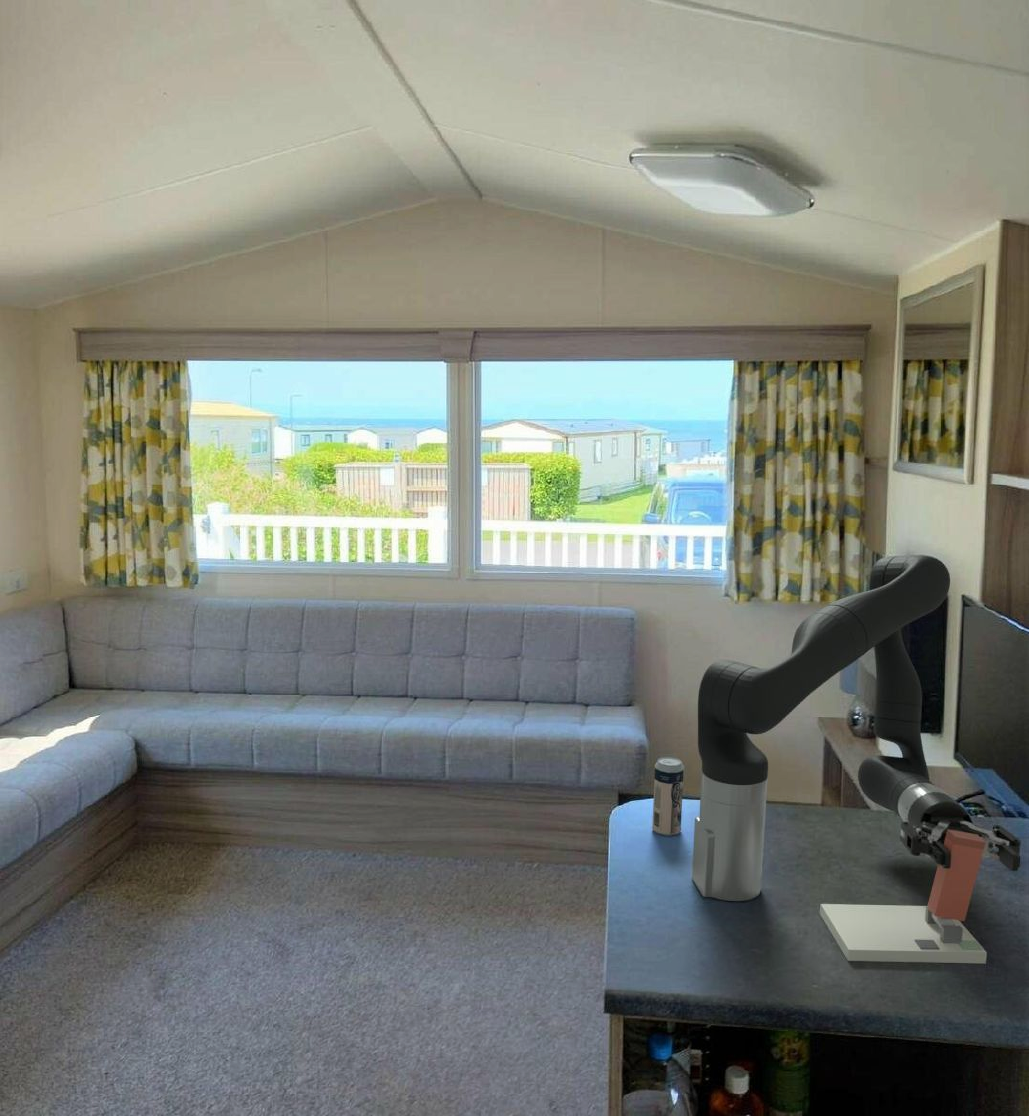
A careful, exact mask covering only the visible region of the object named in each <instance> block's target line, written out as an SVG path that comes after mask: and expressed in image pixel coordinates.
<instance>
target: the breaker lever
mask: <svg viewBox="0 0 1029 1116" xmlns="http://www.w3.org/2000/svg"><path fill="white" fill-rule="evenodd" d="M985 843H986V842H985V841H984V840H983V839H982V838H980V837H979V836H978V835H977V834H971V833H966V832H960V831H955V830H949V829H948V830H947V833H946V837H945V841H944V846H945V847H946V848H947V849H948V850H949V851H950V853H951V866H950V869H947V868H943V867H942V866H941V865H939V864H937V868H936V871H935V872H936V873H935V875H934V880H933V883H932V887H931V892H930V894H929V899H928V902H927V905H926V906H927V907H928V909H929V910H930V911H931V912H932V918H933V919H934V921H935V922H936V923H937V924H938V926H939V927H940V928H941V926H942V925H945V926H956V925H955V923H954V922H953V921H952V920H951V919H954V920H959V921H960V922H965V920H966V918H967V917H966V916H967V913H968V910H969V905H970V902H971V898H972V895H973V891H974V887H975V884H976V880H977V876H978V874H979V873H978V872H979V869H980V865H981V861H982V858H983V857H982V854H983V851H984V847H985Z"/></svg>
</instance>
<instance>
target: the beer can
mask: <svg viewBox="0 0 1029 1116" xmlns="http://www.w3.org/2000/svg"><path fill="white" fill-rule="evenodd" d="M684 770H685V766H684V764H683V761H682V760H680V759H679V758H677V757H669V756H668V757H666V756H665V757H664V756H663V757H660V758H658V760H657V762H656V763H655V765H654V785H653V805H652V806H653V808H652V809H653V810H652V827H651V829H652V830H653V831H654V832H655V833H657V834H659V835H661V836H665V837H666V836H667V837H671V836H675V834H676V835H677V834H679V833H681V832H682V816H683V815H682V813H683V812H682V811H683V793H684V791H683V790H684Z"/></svg>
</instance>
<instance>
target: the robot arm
mask: <svg viewBox="0 0 1029 1116" xmlns="http://www.w3.org/2000/svg"><path fill="white" fill-rule="evenodd" d="M868 583H869V585H868V590H867V591H862V592H858V593H856V594H851V595H848V596H845V597H843V598H840V599H837V600H835V601H833V602H830V603H828V604H826V605H825V606H822V607H821V608H820V609H818V610H817V611H816V612H814V613H813V614H811V615H809V616H808V617H807V618H805V619H804V620H803V621H802V622H800V624H799V626H798V627H797V629H796V630H795V632H794V637H793V639H792V644H791V645H792V646H791V652H790V653H791V654H790V655H789V656H788V657H786V658H785V659H783V660H782V661H780V662H778V663H777V664H775V665H772V666H770V667H766V668H760V667H756V666H752V665H749V664H745V663H741V662H738V661H735V660H730V659H720V660H717V661H714V662H713V663H711V664H710V665H709V667H707V669H706V670H705V672H704V673H703V676H702V679H701V680H700V685H699V689H698V696H697V697H698V698H697V749H698V750H697V751H698V753H699V756H700V759H701V781H700V782H701V783H700V799H699V800H700V801H699V816H696V817H695V818H694V831H693V848H692V849H693V850H692V851H693V852H692V867H691V869H692V871H691V872H692V873H691V880H692V881H693V883H694V884H695V886H696V887H697V889H698V890H699V892H700V894H701V895H702V897H703V898H714V899H717V900H722V901H725V902H726V901H727V902H728V901H729V902H744V901H750V900H753V899H755V898H757V897H758V896H759V895H760V893H761V891H762V890H761V888H762V881H763V880H762V879H763V873H762V872H763V858H764V857H763V856H764V844H765V843H764V842H765V841H764V840H765V827H766V826H765V825H766V824H765V823H766V809H767V808H766V807H767V806H766V805H767V791H768V790H767V789H768V775H769V760H768V758H767V756H766V754H765V753H763V751H762V750H761V749H759V748H758V747H757V746H756V745H755V743H753V741H752V740H751V739H750V738H749V736H748V735H762V734H765V733H767V732H769V731H771V730H772V729H774V728H776V726H778V725H779V724H780V723H781V722H782V721H784V719H785V718H786V717H788V715H790V714H791V713H792V711H794V710H795V709H796V708H797V707H798V706H799V705H800V704H801V703H803V701H804V700H805V699H806V698H808V696H810V695H811V694H812V693H814V692H815V691H816V690H818V689H819V687H821V686H822V685H824V684H825V683H826V682H827V681H829V680H830V679H831V678H832V677H834V676H835V675H836V674H838V673H840V672H841V671H844V669H846V668H847V667H849V666H850V665H852V664H853V663H854V662H856V661H857V660H859V659H860V658H861V657H862V656H864V655H866V653H868V652H869V651H870V650H871V649H873V648H874V649H873V650H874V659H875V679H876V681H875V683H876V685H875V696H874V697H875V701H874V715H873V717H874V719H873V734H874V735H875V736H876V737H877V738H878V739H881V740H884V741H887V742H890V743H893V744H895V745H896V746H897V747H898V748H899V750H900V752H901V756H902V757H900V756H890V755H884V754H883V755H881V754H873V755H870V756H867V757H866V758H865V759H864V760H863V761H862V762H861V764H860V765H859V767H858V773H857V780H858V784H859V788H860V789H861V791H862V792H863V794H864V796H865V797H866V798H868V799H869V800H870V801H871V802H873V803H875V804H877V805H879V806H880V807H882V808H884V809H886V810H889V811H892V812H894V813H895V814H896V815H897V816H898V817H899V818H900V819H901V820H902V822H901V826H900V841H901V843H902V844H903V845H904V847H905V848H906V849H907V851H908V852H909V853H910V855H913V856H914V857H918V856H921V854H924V855H925V856H926V858H929V859H932V860H933V861H934V862H935V863H936V864H937V865H938V864H939V865H941V866H942V867H943V868H947V869H950V866H951V853H950V851H949V850H948V849H947V848H946V847H945V846H944V841H945V837H946V833H947V830H948V829H949V830H955V831H960V832H966V833H971V834H977V835H978V836H979V837H980V838H982V839H983V840H984V841H985V842H986V843H985V847H984V851H983V854H982V858H984V859H987V858H990V857H991V858H993V859H997V860H999V862H1000V863H1001V864H1002V865H1003V866H1005V867H1006V868H1007V869H1008V870H1009V871H1011V872H1018V871H1019V870H1018V869H1019V868H1020V867H1021V866H1020V865H1021V855H1020V852H1021V846H1022V841H1021V839H1020V838H1018V837H1016V836H1015V835H1014V834H1013V833H1011V832H1010V831H1008V830H1007V829H1006V828H1004V827H1003V826H1001V825H999V824H994V825H992V830H987V829H984V828H982V827H980V826H977V824H976V825H975V823H974V822H973V820H972V818H971V816H970V814H969V812H968V811H967V810H966V808H964V807H963V806H962V805H961V804H960V803H959V802H957V801H956V800H955V799H954V798H953V797H951V796H950V795H949V794H948V793H947V792H945V790H943V789H941V788H940V787H937V786H936V785H935V784H934V783H932V782H931V780H930V773H929V770H928V765H927V762H926V758H925V757H926V756H925V753H924V747H923V743H922V742H923V741H922V734H921V726H922V725H921V722H922V721H921V720H922V708H923V707H922V705H923V703H922V702H923V692H922V686H921V682H920V678H919V676H918V674H917V672H916V671H917V670H916V669H915V667H914V664H913V663H912V662H913V661H911V658H910V657H909V654H908V652H907V650H906V647H905V644H904V641H903V637H902V631H901V628H903V627H905V626H907V625H908V624H910V623H912V622H914V621H916V620H918V619H920V618H922V617H923V616H926V615H927V614H928V615H929V614H930V613H931V612H933V611H935V610H936V609H937V608H939V607H940V606H941V605H942V603H943V602H944V601H945V599H946V597H947V596H948V593H949V590H950V586H951V576H950V573H949V569H948V568H947V566H946V565H945V564H944V563H943V561H941V560H940V559H938V558H936V557H934V556H930V555H925V554H912V555H910V554H909V555H894V556H893V555H892V556H884V557H881V558H879V559H878V560H877V561H876V562H875V563H874V565H873V566H872V569H871V570H870V574H869V582H868ZM993 847H994V848H997V849H998V851H996V850H994V849H993Z"/></svg>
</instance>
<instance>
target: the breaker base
mask: <svg viewBox="0 0 1029 1116" xmlns="http://www.w3.org/2000/svg"><path fill="white" fill-rule="evenodd" d="M927 906H928V905H894V904H893V905H891V904H889V905H887V904H885V905H884V904H846V903H845V904H841V903H836V904H835V903H820V907H819V908H820V909H819V915H820V917H821V919H822V921H824V923H825V925H826V928H828V930H829V932H830V933H831V935H832V937H833V938H834V940H835V942H836V943H837V945H838V947H839V948H840V950H841V951H842V953H843V955H844V956H845V959H846V960H847V961H848V962H849V961H850V962H885V963H886V962H888V963H889V962H890V963H891V962H893V963H896V962H897V963H935V964H937V963H941V964H942V963H943V964H946V963H947V964H948V963H949V964H984V965H985V964H987V954H988V952H987V951H986V950H985V949H984V947H983V946H982V945H981V944H980V943H979V941H978V940H977V939H976V938H975V937H974V936H973V935H972V934H971V933H970V931H969V930H968V929H967V928H966V927H965V925H963V923H962V921H960V920H954V919H951V920H952V921H953V922H954V923H955V925H956V926H945V925H942V926H941V928H940V927H939V926H938V924H937V923H936V922H935V921H934V919H933V918H932V912H931V911H930V910H929V909H928V907H927Z"/></svg>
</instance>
